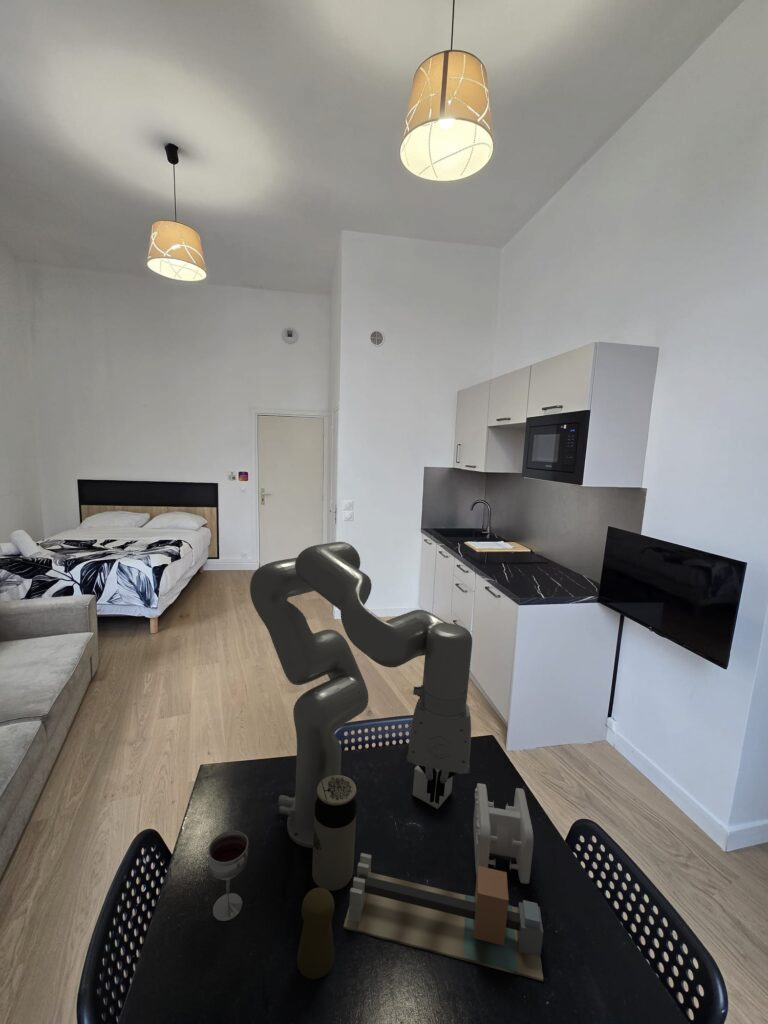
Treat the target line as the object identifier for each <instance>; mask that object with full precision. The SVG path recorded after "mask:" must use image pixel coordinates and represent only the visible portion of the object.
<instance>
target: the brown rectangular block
mask: <svg viewBox="0 0 768 1024" xmlns="http://www.w3.org/2000/svg"><path fill="white" fill-rule="evenodd" d="M507 873H508V872H506V871H504V870H503V871H502V870H498V869H494V868H489V867H488V868H485V867H481V866H478V867H477V876H476V879H475V881H476V882H475V891H474V897H475V899H474V903H475V920H474V935H473V938H476V939H479V940H483V941H487V942H491V943H495V944H499V945H503V946H504V940H505V930H506V921H507V911H508V905H509V901H510V899H509V890H508V888H509V887H508V875H507Z"/></svg>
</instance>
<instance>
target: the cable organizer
mask: <svg viewBox="0 0 768 1024" xmlns="http://www.w3.org/2000/svg"><path fill="white" fill-rule="evenodd" d="M488 798H489V797H488V790H487V785H486V784H485V783H480V782H478V783H477V784H476V788H474V812H473V825H472V826H473V841H474V842H473V845H474V846H473V847H474V863H475V875H476V877H477V867H478V866H481V867H485V868H489V865H490V866H493V869H494V870H496V869H495V868H496V859H490V854H491V855H497V856H502V857H503V856H504V857H507V858H508V857H509V858H515V861H516V863H512V859H510V861H509V870H510V871H509V872H510V873H511V869H514V870H517V873H518V878H519V882H520V883H521V884H525V885H526V884H527V885H528V884H529V883H530V879H531V869H532V862H533V861H532V860H533V852H534V844H535V843H534V840H535V839H534V831H533V825H532V821H531V817H530V812H529V808H528V807H529V806H528V803H527V798H526V793H525V790H524V789H523V788H519V787H516V788H515V793H514V800H513V806H511V805H510V806H509V805H508V804H506V805H505V809H503V808H498V807H495V803H494V802H495V801H494V799H493V801H489V799H488Z"/></svg>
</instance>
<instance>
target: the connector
mask: <svg viewBox="0 0 768 1024" xmlns="http://www.w3.org/2000/svg"><path fill="white" fill-rule="evenodd" d="M517 908H518V913H519V917H520V928H519V931H518V930H517V938H518V950H519V952H523V953H527V954H531V955H535V956H539V957H541V956H542V947H543V939H544V929H543V928H544V927H543V923H542V922H543V921H542V915H541V908H540V906H538V902H533V901H529V900H526V899H525V900H524V899H523V900H522V902H520V901H519V902H518V906H517Z"/></svg>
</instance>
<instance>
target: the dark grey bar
mask: <svg viewBox="0 0 768 1024" xmlns="http://www.w3.org/2000/svg"><path fill="white" fill-rule="evenodd" d="M359 878H361V879H365V891H364V892H365V893H369V894H373V895H377V896H381V897H385V898H389V899H393V900H397V901H401V902H405V903H409V904H413V905H417V906H421V907H425V908H429V909H433V910H437V911H441V912H445V913H449V914H453V915H458V916H462V917H466V918H470V919H474V920H475V903H474V902H470V901H466V900H462V899H458V898H454V897H450V896H445V895H441V894H437V893H433V892H429V891H425V890H421V889H416V888H412V887H408V886H404V885H400V884H396V883H392V882H387V881H383V880H379V879H375V878H371V877H367V876H363V875H359ZM506 928H510V929H514V930H518V931H519V928H520V917H519V913H516V912H512V911H507V921H506Z"/></svg>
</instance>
